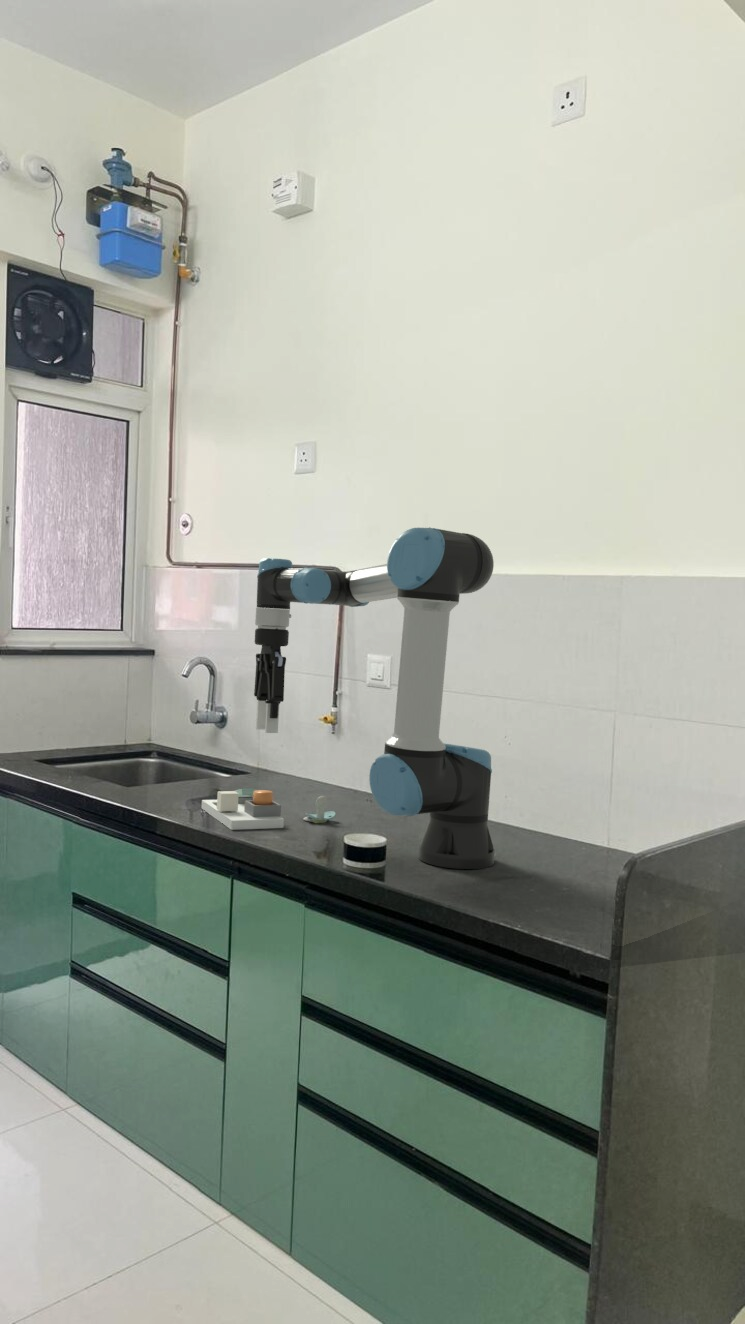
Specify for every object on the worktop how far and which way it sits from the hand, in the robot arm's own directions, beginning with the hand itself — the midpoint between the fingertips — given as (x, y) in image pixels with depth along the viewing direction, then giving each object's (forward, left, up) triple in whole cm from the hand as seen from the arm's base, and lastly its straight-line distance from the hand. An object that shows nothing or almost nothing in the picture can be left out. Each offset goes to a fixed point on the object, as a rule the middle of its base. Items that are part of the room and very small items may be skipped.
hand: (266, 730), depth 227 cm
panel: (+6, +3, -21) cm, 22 cm away
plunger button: (0, 0, -17) cm, 17 cm away
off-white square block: (+4, +7, -19) cm, 20 cm away
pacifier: (0, -14, -21) cm, 25 cm away
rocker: (+13, 0, -16) cm, 21 cm away
